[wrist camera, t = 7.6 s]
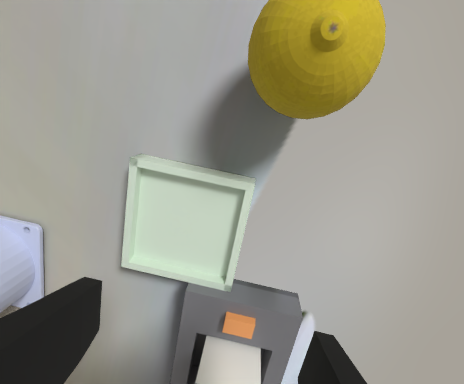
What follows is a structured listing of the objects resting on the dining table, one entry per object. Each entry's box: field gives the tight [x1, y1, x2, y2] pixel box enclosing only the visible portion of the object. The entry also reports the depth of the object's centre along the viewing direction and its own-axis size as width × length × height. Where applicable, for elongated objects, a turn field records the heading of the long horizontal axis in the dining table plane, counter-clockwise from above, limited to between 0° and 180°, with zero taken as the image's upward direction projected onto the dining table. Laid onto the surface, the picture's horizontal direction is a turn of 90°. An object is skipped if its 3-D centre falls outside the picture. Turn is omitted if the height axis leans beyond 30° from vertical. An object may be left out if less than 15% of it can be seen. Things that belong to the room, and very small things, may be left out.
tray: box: [121, 154, 256, 292], centre depth 18 cm, size 8×8×2 cm
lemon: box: [248, 0, 386, 119], centre depth 12 cm, size 6×6×8 cm
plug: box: [194, 335, 261, 384], centre depth 18 cm, size 4×4×6 cm
